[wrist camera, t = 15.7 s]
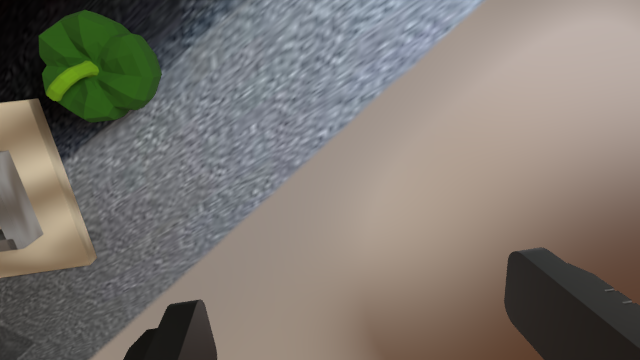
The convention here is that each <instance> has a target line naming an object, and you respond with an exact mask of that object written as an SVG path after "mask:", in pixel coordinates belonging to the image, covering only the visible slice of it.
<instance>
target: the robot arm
mask: <svg viewBox="0 0 640 360" xmlns="http://www.w3.org/2000/svg"><path fill="white" fill-rule="evenodd" d="M504 299H505V300H504V303H505V308H506V312H507V314H508V316H509V319H510V320H511V322H512V324H513V325H514V326H515V327H516V328H517V329H518V331H519V332H520V333H521V334H522V335H523V336H524V337H525V339H526V340H527V341H528V342H529V343H530V344H531V345H532V346H533V348H534V349H535V350H536V351H537V352H538V353H539V354H540V355H541V357H542V358H543V359H544V360H640V306H639V305H638V304H637V303H632V301H631V299H629V298H628V297H626V296H625V295H623V294H622V293H620V292H619V291H615V290H614V288H613V287H612V286H610V285H609V284H607V283H606V282H604V281H603V280H601V279H600V278H598V277H597V276H596V275H594V274H592V273H590V272H587V271H585V270H582V269H580V268H578V267H576V266H573V265H571V264H569V263H568V264H567V263H566V262H564V261H563V260H561V259H560V258H559V257H557V256H556V255H554V254H553V253H552V252H550V251H549V250H547V249H545V248H534V249H528V250H522V251H515V252H512V253H511V254H510V255H509V258H508V266H507V277H506V287H505V298H504ZM123 360H217V351H216V346H215V342H214V338H213V334H212V331H211V327H210V323H209V319H208V315H207V311H206V307H205V304H204V302H203V301H202V300H195V301H188V302H181V303H175V304H170V305H169V306H168V307H167V309H166V311H165V313H164V315H163V317H162V320H161V322H160V324H159V327H158V328H155V329H149V330H146V331H145V332H144V333H143V335H142V336H141V337H140V338H139V339H138V340H137V341H136V342H135V343H134V344H133V345H132V346H131V347H130V348H129V350H128V351H127V353H126V355H125V357H124V359H123Z"/></svg>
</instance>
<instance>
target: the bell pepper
mask: <svg viewBox="0 0 640 360" xmlns="http://www.w3.org/2000/svg"><path fill="white" fill-rule="evenodd" d="M39 52H40V57H41V58H42V59H43V61H44V62H45V63H46V65H47V66H46V68H45V70H44V71H43V73H42V77H43V82H44V88H45V93H46V95H47V96H48V97H49V98H50V99H52V100H53V101H57V102H58V103H60V104H61V105H62V106H64V107H65V108H67V109H68V110H70V111H71V112H73V113H75V114H76V115H78V116H79V117H81V118H83V119H85V120H86V121H88V122H90V123H91V122H100V121H109V120H116V119H119V118H121V117H123V116H125V115H126V114H127V113H128V111H129V110H138V109H140V108H143V107H144V106H145V105H146V104H147V103H148V102H149V101H150V100H151V99H152V98H153V97H154V95H155V94H156V91H157V87H158V84H159V81H160V78H161V75H162V73H161V70H160V66H159V63H158V60H157V56H156V55H155V53H154V52H153V51H152V49H151V48H150V47H149V45H148V44H147V42H146V41H145V40H144V39H143V38H142V37H141V36H140V35H136V34H131V33H130V32H129V31H128V30H127V29H126V28H125V27H124V26H122V25H121V24H120V23H117V22H115V21H113V20H111V19H108V18H106V17H104V16H102V15H100V14H97V13H94V12H90V11H87V10H83V11H80V12H77V13H74V14H71V15H68V16H65V17H64V18H62V19H61V20H59V21H58V22H57V23H55V24H54V25H53V26H51V27H50V28H48V29H47V30H46V31H44V32H43V33H42V34H41V35H40V36H39Z"/></svg>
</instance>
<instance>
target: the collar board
mask: <svg viewBox="0 0 640 360" xmlns="http://www.w3.org/2000/svg"><path fill="white" fill-rule="evenodd" d="M96 258H97V256H96V253H95V251H94V248H93V245H92V242H91V240H90V237H89V234H88V232H87V229H86V226H85V223H84V221H83V218H82V215H81V213H80V210H79V207H78V205H77V202H76V199H75V196H74V194H73V191H72V188H71V186H70V183H69V180H68V177H67V175H66V172H65V169H64V167H63V164H62V161H61V159H60V156H59V153H58V150H57V148H56V145H55V142H54V140H53V137H52V134H51V131H50V129H49V126H48V123H47V121H46V118H45V115H44V113H43V110H42V107H41V104H40V102H39V99H30V100H21V101H12V102H3V103H0V278H3V277H10V276H17V275H23V274H30V273H37V272H44V271H51V270H58V269H65V268H72V267H78V266H85V265H91V264H92V263H93V261H94V260H95V259H96Z"/></svg>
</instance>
